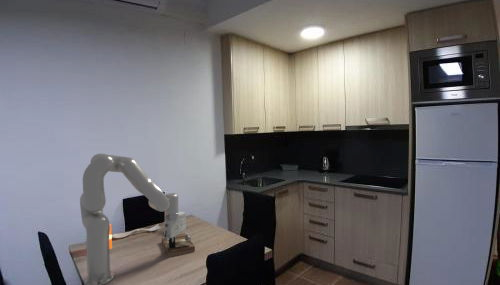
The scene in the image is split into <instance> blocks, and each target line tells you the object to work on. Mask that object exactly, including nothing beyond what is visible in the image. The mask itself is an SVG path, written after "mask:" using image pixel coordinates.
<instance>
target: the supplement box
mask: <svg viewBox="0 0 500 285" xmlns="http://www.w3.org/2000/svg"><path fill="white" fill-rule="evenodd" d="M178 212H179V219H180V226H181V232H184V231H186V230H187V213H186V212H184V211H179V210H178ZM181 232H180V233H181Z"/></svg>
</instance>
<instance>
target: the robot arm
mask: <svg viewBox="0 0 500 285" xmlns="http://www.w3.org/2000/svg"><path fill="white" fill-rule="evenodd" d="M108 172H112V173H122V174H123V176H124V177H125V178H126V179H127V181H129V183H130V184H131V185H132V187H133V188H135V190H136V191H138V192H139V193H140V194H142V195H143V196H145V197H146V199H148V205H149V207H150V208H152V209H154V210H155V211H157V212H160V213H161V212H162V213H163V212H164V222H163V224H164V225H163V237H166V239H165V240H166V241H169V248H172V249H174V248H175V247H176V243H175V240H176V236H177V235H178V234H181V226H180V219H179V212H178V211H179V195H178V193H174V192H173V193H171V192H170V193H166V194H165V193H164V192H163V191H162V190H161V188H159V186H157V184H156V183H155V182H154V181H153V180H152V179H151V178H150V177H149V176H148V175H147V173H146V172H145V171H144V170H143V168H142V166H141V165H139V163H138V162H137V160H135V159H134V158H133V157H130V156H129V157H128V156H122V155H121V156H120V155H114V154H113V155H112V154H107V153H97V154H94V155H93V156H92V157H91V158H90V163H89V164H88V165H87V167H86V168H85V169H84V172H83V174H82V192H83V193H82V194H81V195H80V197H79V205H80V206H79V207H80V214H81V215H80V216H81V223H82V225H83V227H84V228H85V231H86V241H85V244H86V246H85V248H86V268H87V269H86V271H87V276H86V277H85V279H84V280H83V285H106V284H108V283H109V282H111V281H112V280H113V279H114V278H115V273H114V272H113V271H112V270H111V249H110V245H109V233H110V224H111V223H110V220H109V218H108V216H107V215H106V214H104V207H105V206H106V200H107V199H106V195H105V194H106V193H105V184H104V181H105V180H104V179H105V176H106V174H107V173H108Z"/></svg>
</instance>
